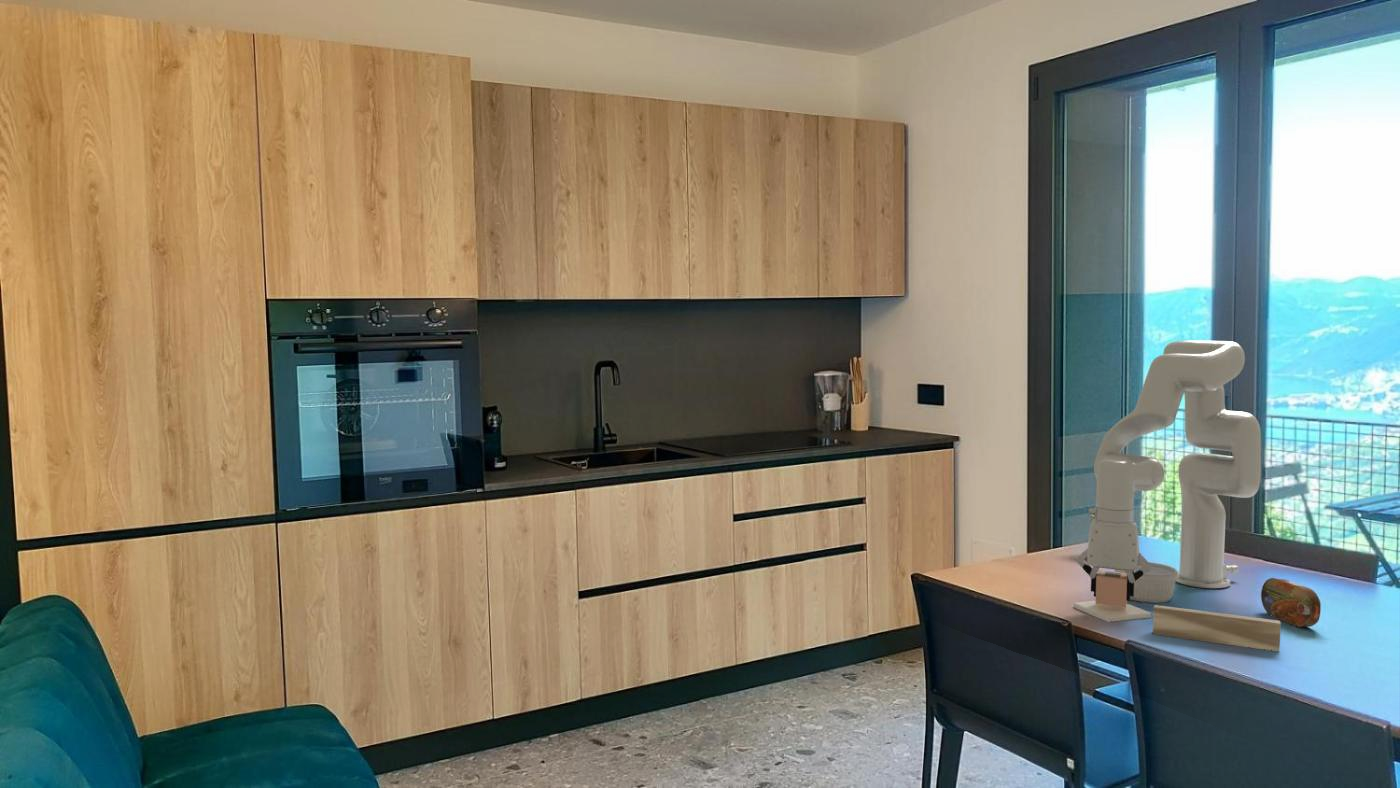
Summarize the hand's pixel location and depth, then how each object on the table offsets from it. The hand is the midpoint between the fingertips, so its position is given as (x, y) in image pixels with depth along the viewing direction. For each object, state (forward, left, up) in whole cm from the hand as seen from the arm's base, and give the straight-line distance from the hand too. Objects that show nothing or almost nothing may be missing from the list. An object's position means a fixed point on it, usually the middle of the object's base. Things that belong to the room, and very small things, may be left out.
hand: (1112, 596), depth 207 cm
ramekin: (-16, -8, -4) cm, 18 cm away
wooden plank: (-6, +22, -4) cm, 23 cm away
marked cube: (0, 0, -1) cm, 1 cm away
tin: (-32, +16, -4) cm, 36 cm away
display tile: (0, 0, -4) cm, 4 cm away
